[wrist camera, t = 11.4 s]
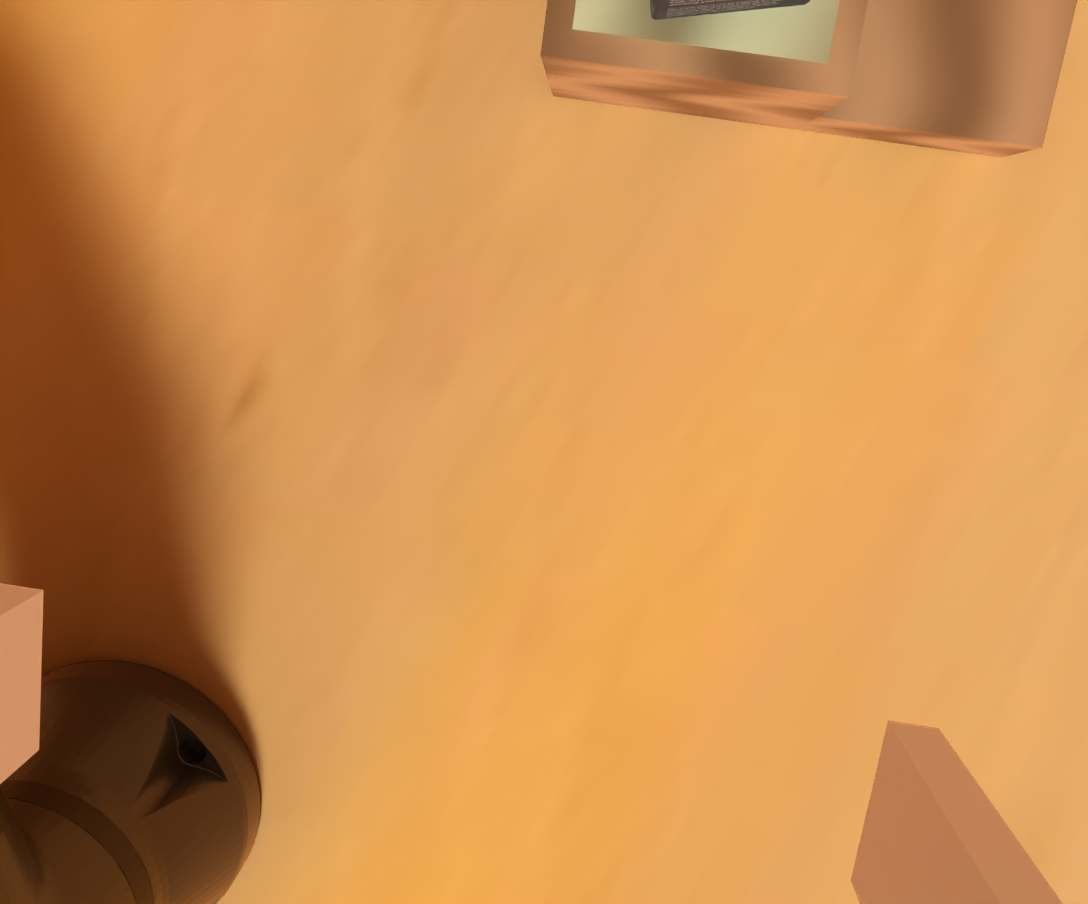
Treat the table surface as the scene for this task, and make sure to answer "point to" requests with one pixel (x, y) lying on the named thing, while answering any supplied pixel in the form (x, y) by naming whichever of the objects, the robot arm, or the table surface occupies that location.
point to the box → (712, 6)
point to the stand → (827, 66)
